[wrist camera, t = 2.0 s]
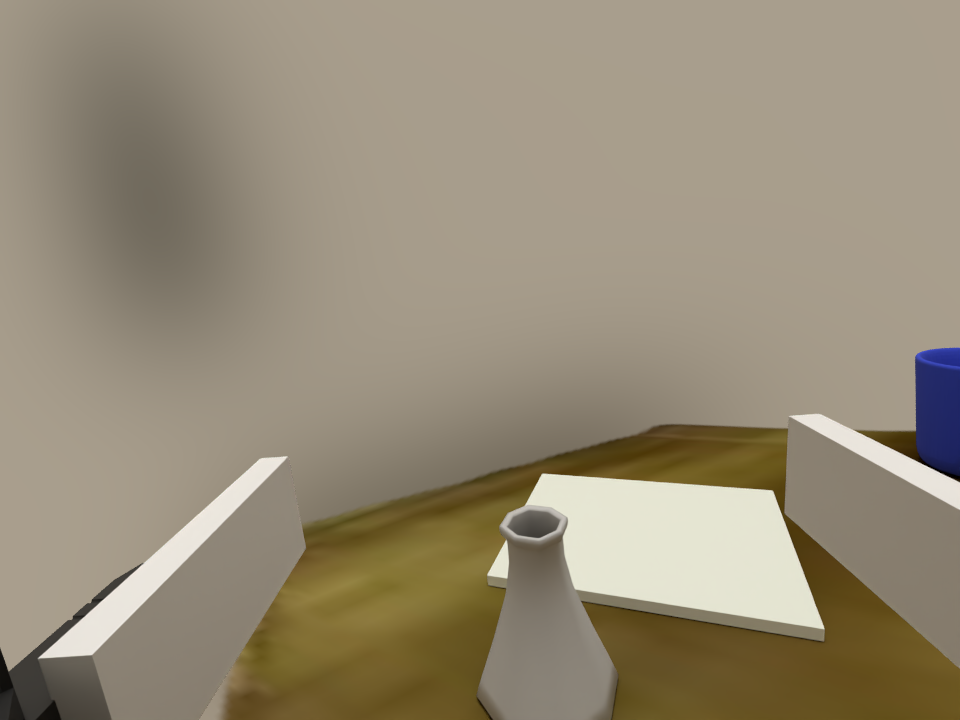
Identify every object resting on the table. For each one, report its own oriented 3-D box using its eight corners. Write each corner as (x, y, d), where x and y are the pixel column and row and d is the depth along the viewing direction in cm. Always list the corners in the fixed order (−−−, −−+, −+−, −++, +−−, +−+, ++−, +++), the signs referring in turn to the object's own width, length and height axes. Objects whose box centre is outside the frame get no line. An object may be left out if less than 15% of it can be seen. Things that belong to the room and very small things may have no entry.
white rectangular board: (772, 499, 42) (772, 490, 42) (823, 641, 27) (824, 629, 27) (543, 481, 49) (542, 473, 49) (488, 585, 35) (487, 575, 35)
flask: (531, 620, 31) (518, 475, 29) (641, 675, 26) (635, 507, 24) (453, 703, 26) (429, 534, 24) (572, 791, 21) (556, 590, 19)
